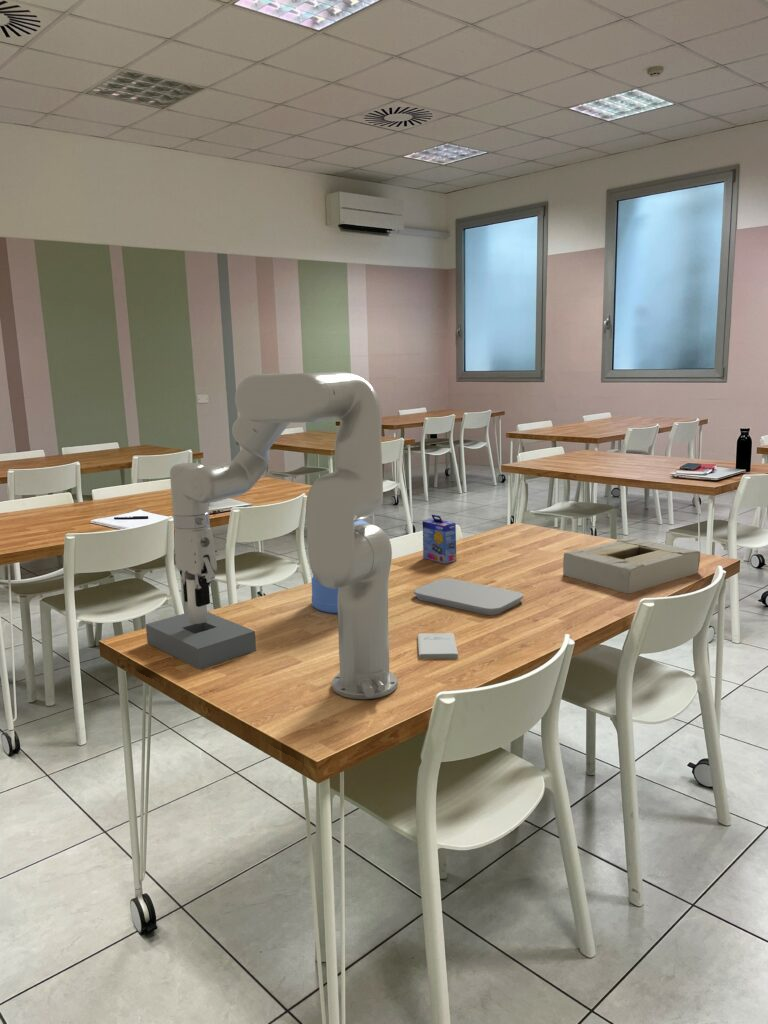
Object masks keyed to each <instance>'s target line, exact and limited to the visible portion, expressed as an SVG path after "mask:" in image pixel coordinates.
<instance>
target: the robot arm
mask: <svg viewBox="0 0 768 1024" xmlns="http://www.w3.org/2000/svg"><path fill="white" fill-rule="evenodd" d="M234 403H235V408H236V410H237V413H239V414H240V415H239V416H238V417H237V418H236V419H235V420H234V422H233V424H232V428H231V432H232V433H231V434H232V436H233V438H234V440H235V442H236V443H238V445H239V446H240V447H241V449H240V450H239V452H238V453H237V454H236V455H235V457H234V458H233V459H232V460H231V461H227V462H226V461H225V462H221V463H215V464H212V465H206V466H205V465H203V464H202V463H198V462H185V463H184V462H183V463H182V462H181V463H178V464H174V465H172V466H171V468H170V470H169V477H170V491H171V504H172V505H171V506H172V518H173V519H172V521H173V522H172V523H173V530H174V540H173V541H174V546H173V547H174V548H173V549H174V562H175V567H176V568H177V570H178V572H179V574H180V576H181V584H182V585H183V587H182V588H183V599H184V600H183V601H184V602H185V603H188V598H187V584H186V577H185V571H186V570H187V571H188V573H191V574H193V575H195V581H196V587H197V588H196V589H195V599H196V606H197V607H200V606H204V605H207V606H208V605H210V603H211V597H210V596H211V595H210V588H211V583H212V581H213V580H214V579H215V578H216V575H215V573H216V572H217V570H218V565H217V564H218V563H217V556H216V555H217V554H216V547H215V541H214V536H213V531H212V529H211V521H210V508H209V507H210V505H209V504H211V503H212V504H213V503H217V502H220V501H224V500H228V499H231V498H235V497H236V498H237V497H240V496H242V495H245V494H246V493H247V492H249V491H250V490H251V489H252V488H253V487H254V486H255V485H256V483H257V482H258V481H259V480H260V479H261V478H262V476H263V475H264V473H265V472H266V470H267V468H268V464H269V463H270V449H271V447H272V446H273V445H274V443H276V441H277V440H278V439H279V438H280V436H281V435H282V434H283V433H284V431H285V430H286V429H287V427H288V426H289V425H290V424H291V423H293V424H295V423H302V424H303V423H304V424H305V423H314V422H321V421H328V420H334V419H336V420H339V427H338V429H337V432H336V436H335V440H334V460H335V461H334V471H333V472H329V473H325V474H323V475H321V476H320V477H318V478H317V479H316V480H315V481H314V482H312V484H311V486H310V488H309V489H308V493H307V496H306V500H305V501H306V502H305V504H306V505H305V509H306V510H305V514H306V535H307V554H308V562H309V563H308V564H309V567H310V570H311V573H312V576H313V575H314V577H315V578H316V580H317V581H318V582H319V583H320V584H322V585H323V586H325V587H327V588H333V589H335V588H339V590H338V613H337V628H338V629H337V630H338V631H337V632H338V653H339V654H338V655H339V657H338V659H339V661H338V662H339V673H337V674H336V675H335V676H334V677H333V679H332V681H331V688H332V690H333V691H334V692H335V693H336V694H337V695H339V696H341V697H344V698H346V699H347V698H348V699H353V700H372V699H379V698H382V697H385V696H388V695H389V694H392V693H393V692H394V691H395V690H396V689H397V688H398V684H399V683H398V682H399V681H398V677H397V676H396V674H394V673H393V672H391V671H390V641H389V640H390V638H389V637H390V636H389V634H390V633H389V580H390V573H391V572H390V571H391V566H392V556H393V552H392V551H393V548H392V544H391V540H390V537H389V536H388V535H387V533H386V531H384V530H383V529H382V528H381V527H379V526H377V525H375V524H372V523H369V524H359V525H355V526H354V522H356V521H359V520H364V519H368V518H369V517H371V516H373V515H375V514H376V513H378V512H379V510H380V509H381V507H382V505H383V500H384V483H383V481H384V480H383V478H384V477H383V453H382V452H383V451H382V423H383V422H382V421H383V419H382V416H383V415H382V405H381V401H380V398H379V395H378V394H377V391H376V390H375V388H374V387H373V386H372V385H371V384H370V382H368V381H367V380H365V379H364V378H363V377H361V376H359V375H357V374H355V373H352V372H346V371H321V372H320V371H319V372H302V373H301V372H299V373H282V372H281V373H279V372H278V373H277V372H275V373H258V374H257V373H256V374H251V375H248V376H247V377H245V378H244V379H243V380H242V381H241V382H240V383H239V384H238V386H237V388H236V390H235V395H234ZM203 570H204V573H201V571H203ZM202 576H204V578H202V580H201V581H200V577H202Z"/></svg>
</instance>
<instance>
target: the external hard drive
mask: <svg viewBox="0 0 768 1024" xmlns="http://www.w3.org/2000/svg"><path fill="white" fill-rule="evenodd" d="M417 645H418V649H417V650H418V658H419V660H422V659H424V660H425V659H429V660H430V659H458V658H459V653H458V652H459V651H458V649H457V648H458V646H457V643H456V638H455V633H453V632H439V633H438V632H437V633H435V632H433V633H431V632H429V633H425V632H424V633H418V634H417Z"/></svg>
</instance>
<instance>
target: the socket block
mask: <svg viewBox="0 0 768 1024" xmlns="http://www.w3.org/2000/svg"><path fill="white" fill-rule="evenodd" d="M207 615H208V621H207V622H204V623H200V624H192V623H190V622H189V612H186V613H181V614H178V615H174V616H171V617H167V618H163V619H160V620H156V621H153V622H149V623H145V631H146V642H147V645H150V646H152V647H154V648H157V649H158V650H160V651H163V652H164V653H166V654H168V655H171V656H172V657H173V658H176V659H178V660H179V661H181V662H184V663H186V664H187V665H190V666H192V667H194V668H196V669H198V670H203V669H206V668H208V667H209V668H210V667H211V666H215V665H217V664H220V663H223V662H226V661H229V660H233V659H235V658H238V657H241V656H244V655H247V654H249V653H253V652H255V651H257V647H256V644H257V643H256V630H253V629H251V628H248V627H245V626H244V625H241V624H238V623H236V622H233V621H231V620H228V619H226V618H224V617H221V616H219V615H216V614H214V613H211V612H209V611H207Z"/></svg>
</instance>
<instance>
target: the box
mask: <svg viewBox="0 0 768 1024" xmlns="http://www.w3.org/2000/svg"><path fill="white" fill-rule="evenodd" d="M700 561H701V552H700V550H697V549H692V548H691V549H690V548H684V547H679V546H674V545H671V544H664V543H660V542H655V541H653V540H652V541H651V540H646V539H642V538H638V537H634V536H630V537H626V538H623V539H618V540H616V541H613V542H610V543H605V544H601V545H596V546H592V547H587V548H584V549H583V548H582V549H574V550H570V551H566V552H564V554H563V563H562V568H563V570H562V573H563V576H566V577H568V578H573V579H576V580H579V581H583V582H587V583H591V584H594V585H597V586H600V587H604V588H608V589H611V590H615V591H618V592H621V593H625V594H628V595H629V594H632V593H635V592H638V591H642V590H645V589H649V588H652V587H654V586H658V585H662V584H665V583H668V582H672V581H675V580H678V579H682V578H685V577H689V576H692V575H695V574H698V573H699V568H700V563H701V562H700Z"/></svg>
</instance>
